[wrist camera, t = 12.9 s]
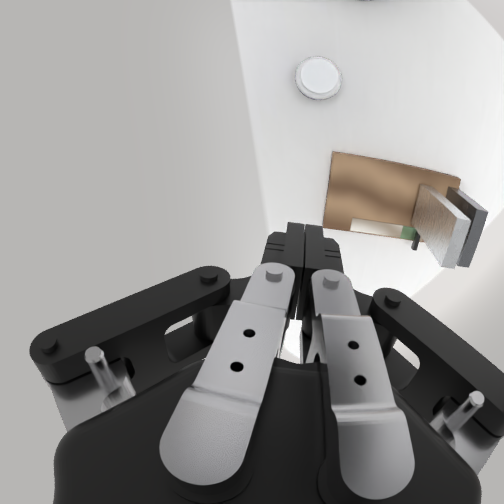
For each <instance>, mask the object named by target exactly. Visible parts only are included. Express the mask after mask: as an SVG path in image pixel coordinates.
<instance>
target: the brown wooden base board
mask: <svg viewBox="0 0 504 504" xmlns="http://www.w3.org/2000/svg"><path fill="white" fill-rule="evenodd" d="M460 181H461V179H459V178H458V177H455V176H451V175H448V174H444V173H440V172H436V171H432V170H428V169H424V168H419V167H415V166H410V165H406V164H401V163H396V162H391V161H386V160H381V159H376V158H370V157H365V156H359V155H353V154H346V153H340V152H333V153H332V161H331V169H330V177H329V185H328V192H327V199H326V206H325V212H324V219H323V228H328V229H336V230H343V231H351V232H358V233H365V234H372V235H379V236H386V237H393V238H399V239H406V240H412V241H413V240H414V237H415V233H416V229H415V228H414V226H413V225H412V223H411V222H412V218H413V214H414V210H415V206H416V202H417V198H418V194H419V189H420V185H421V184H423V185H427V186H432V187H433V188H435V189H436V190H437V191H438V192H439V193H441V194H442V195H443V196H444V197H445V198H446V194H447V189H448V186H449V187H453V188H457V189H459V185H460ZM419 242H424V240H423V239H422V238H421V237H420V240H419Z"/></svg>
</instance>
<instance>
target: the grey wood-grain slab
mask: <svg viewBox="0 0 504 504" xmlns="http://www.w3.org/2000/svg"><path fill="white" fill-rule="evenodd" d="M446 199H448V200H449V201H450V202H451V203H452V204H453V205H454V206H456V207H457V208H458V209H459V210H460V211H461V212H462V213H463V214H464V215H465V216H466V217H468V218H469V219H470V220H471V223H470V226H469V229H468V232H467V235H466V238H465V241H464V244H463V247H462V250H461V252H460V255H459V258H458V260H457V263H456V264H457V266H462V267H469V265H470V263H471V260H472V258H473V255H474V253H475V250H476V247H477V244H478V241H479V239H480V236H481V233H482V230H483V227H484V224H485V221H486V218H487V214H488V211H486V210H485V209H484V208H483V207H481V206H480V205H479V204H478V203H476V202H475V201H474V200H473V199H471V198H470V197H469V196H467V195H466V194H465V193H464V192H462V191H461V190H459V189H457V188H453V187H449V186H448V189H447V194H446Z"/></svg>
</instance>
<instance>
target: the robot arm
mask: <svg viewBox="0 0 504 504" xmlns="http://www.w3.org/2000/svg"><path fill="white" fill-rule="evenodd" d="M363 1H368V0H363ZM296 307H297V313H296V320H302V327H301V332H300V364H296V363H292V362H289V361H286V360H283V359H280V356H281V352H282V348H283V343H284V339H285V335H286V330H287V328H288V327H289V322H290V319H294V318H295V312H296ZM190 316H192V318H193V321H192V322H191V323H188V324H186V325H184V326H183V327H180V328H178V329H176V330H174V331H172V332H170V333H168V334H166V335H165V332H166V330H167V329H168V328H169V327H170V326H171V325H173V324H175V323H177V322H179V321H182V320H184V319H186V318H188V317H190ZM396 339H399V340H400V341H401V342H402V343H403V344H404V345H406V346H407V347H408V348H409V349H410V350H411V351H412V352H414V353H415V354H416V355H417V356H418V358H419V361H420V367H419V369H416V368H415V367H414V366H413V365H412V364H411V363H410V362H409V361H407V360H406V359H405V358H404V357H403V356H402V355H401V354H400V353H398V352H397V351H396V350H395V349H394V348H393V346H394V344H395V342H396ZM30 356H31V358H32V360H33V361H34V363H35V364H36V366H37V367H38V369H39V371H40V372H41V374H42V377H43V379H44V380H45V381H46V383H47V384H48V386H49V387H50V389H51V390H52V393H53V396H54V398H55V401H56V404H57V407H58V409H59V412H60V415H61V417H62V420H63V422H64V425H65V427H66V429H67V433H66V434H65V435H64V437H63V438H62V439H61V441H60V443H59V445H58V447H57V449H56V453H55V456H54V476H55V493H54V501H53V504H481V486H480V481H479V479H478V477H477V475H478V473H479V472H480V470H481V469H482V468H483V466H484V465H485V463H486V462H487V460H488V458H489V457H490V455H491V453H492V452H493V450H494V449H495V447H496V446H497V444H498V442H499V440H500V439H502V438H503V437H504V373H503V372H502V371H500V370H499V369H498V368H497V367H496V366H495V365H493V364H492V363H491V362H490V361H489V360H488V359H486V358H485V357H484V356H483V355H482V354H480V353H479V352H478V351H476V350H475V349H474V348H473V347H472V346H471V345H469V344H468V343H467V342H466V341H464V340H463V339H462V338H461V337H459V336H458V335H457V334H456V333H454V332H453V331H452V330H451V329H449V328H448V327H447V326H446V325H444V324H443V323H442V322H440V321H439V320H438V319H437V318H435V317H434V316H432V315H431V314H430V313H429V312H427V311H426V310H425V309H423V308H422V307H420V306H419V305H418V304H417V303H415V302H414V301H413V300H411V299H410V298H409V297H407V296H406V295H405V294H403V293H402V292H400V291H398V290H395V289H391V288H380V289H378V290H376V291H375V292H374V294H373V297H372V296H369V295H366V294H363V293H360V292H358V291H356V290H354V289H353V287H352V283H351V281H350V279H349V278H348V277H347V276H346V275H345V274H344V271H343V265H342V259H341V254H340V248H339V245H338V244H337V242H336V241H335V240H334V239H332V238H324V237H323V227H322V226H316V225H308V224H306V225H305V232H304V224H300V223H292V222H288V225H287V232H286V233H283V232H273V233H272V234H271V235H269V236H268V239H267V243H266V246H265V250H264V254H263V258H262V262H261V265H259V266H258V267H256V268H255V270H254V272H253V274H252V276H250V277H246V278H240V279H230V275H229V273H228V272H227V271H226V270H225V269H223V268H220V267H216V266H204V267H200V268H197V269H194V270H192V271H189V272H187V273H184V274H182V275H179V276H177V277H175V278H172V279H169V280H167V281H165V282H162V283H160V284H157V285H155V286H152V287H150V288H148V289H145V290H143V291H140V292H138V293H135V294H133V295H130V296H128V297H125V298H123V299H121V300H118V301H116V302H113V303H111V304H108V305H106V306H103V307H101V308H99V309H96V310H94V311H92V312H89V313H86V314H84V315H82V316H79V317H77V318H74V319H72V320H70V321H67V322H65V323H63V324H60V325H58V326H55V327H53V328H50V329H48V330H46V331H43V332H42V333H40V334H39V335H38V336H36V338H35V339H34V340H33V341H32V343H31V346H30ZM204 358H206V359H204ZM202 359H204V360H202Z"/></svg>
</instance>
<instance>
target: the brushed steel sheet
mask: <svg viewBox="0 0 504 504" xmlns="http://www.w3.org/2000/svg"><path fill="white" fill-rule="evenodd" d="M411 223H412V225H413V226H414V228H415V229H416V233H415V237H414V240H413V243H412V247H411V248H412V249H413V250H417V247H418V243H419V240H420V237H421V238H422V239H423V240H424V242H425V243H426V245H427V246H428V248H429V249H430V251H431V252H432V254H433V255H434V257H435V258H436V260H437V261H438V263H439V265H440V266H441V267H446V268H455V266H456V263H457V260H458V258H459V255H460V252H461V250H462V247H463V244H464V241H465V238H466V235H467V232H468V229H469V226H470V223H471V220H470V219H469V218H468V217H466V216H465V215H464V214H463V213H462V212H461V211H460V210H459V209H458V208H457V207H456V206H454V205H453V204H452V203H451V202H450V201H449V200H448V199H446V198H445V197H444V196H443V195H442V194H441V193H439V192H438V191H437V190H436V189H435V188H433V187H432V186H427V185H423V184H421V185H420V189H419V194H418V198H417V202H416V206H415V210H414V214H413V218H412V222H411Z"/></svg>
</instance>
